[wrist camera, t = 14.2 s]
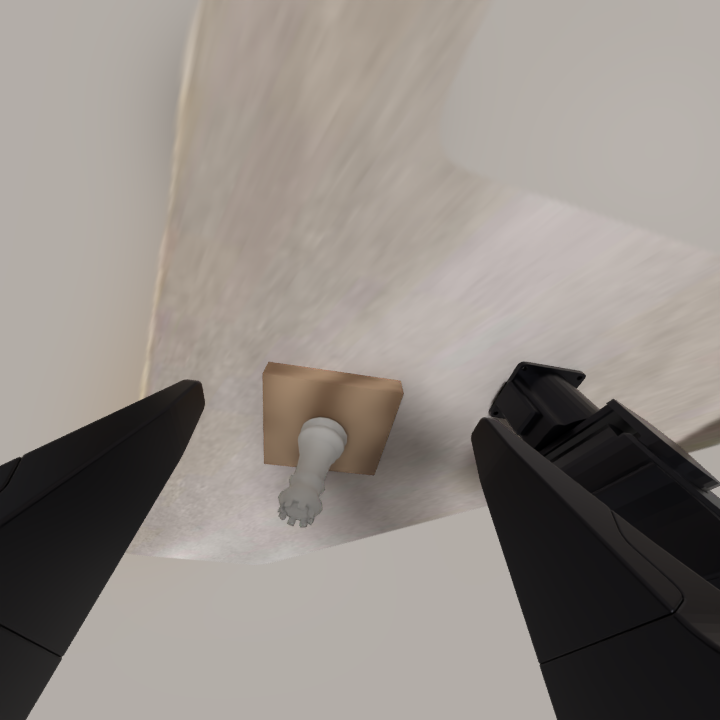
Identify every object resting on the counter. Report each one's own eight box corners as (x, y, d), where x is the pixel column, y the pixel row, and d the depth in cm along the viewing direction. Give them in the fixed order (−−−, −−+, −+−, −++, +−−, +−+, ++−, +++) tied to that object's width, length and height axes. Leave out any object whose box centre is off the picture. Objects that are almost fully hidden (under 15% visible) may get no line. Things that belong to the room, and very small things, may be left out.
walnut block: (399, 376, 25) (403, 393, 23) (372, 456, 31) (374, 475, 29) (271, 357, 24) (262, 373, 21) (270, 444, 30) (264, 463, 28)
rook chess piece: (343, 413, 23) (319, 497, 16) (351, 449, 25) (333, 537, 19) (296, 414, 24) (254, 495, 17) (308, 449, 26) (275, 533, 19)
